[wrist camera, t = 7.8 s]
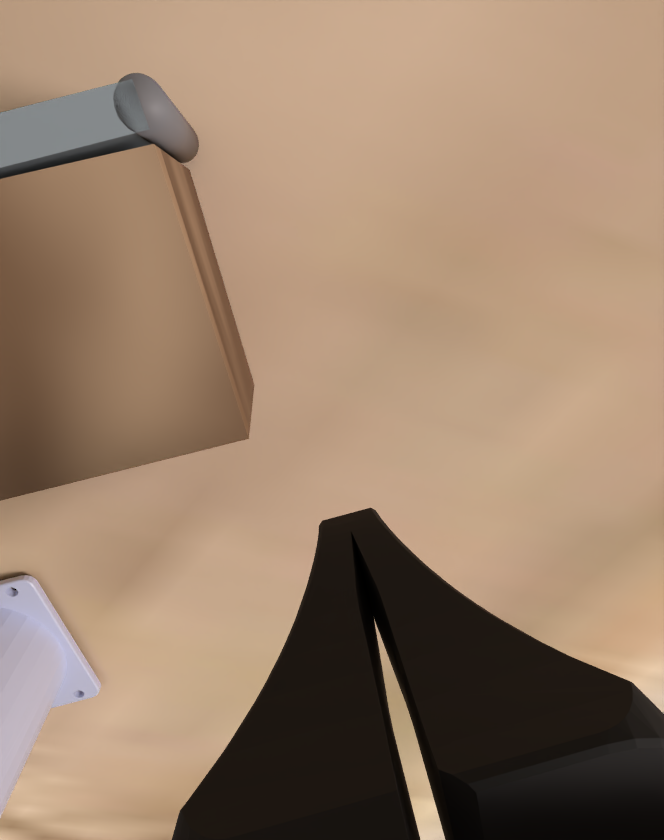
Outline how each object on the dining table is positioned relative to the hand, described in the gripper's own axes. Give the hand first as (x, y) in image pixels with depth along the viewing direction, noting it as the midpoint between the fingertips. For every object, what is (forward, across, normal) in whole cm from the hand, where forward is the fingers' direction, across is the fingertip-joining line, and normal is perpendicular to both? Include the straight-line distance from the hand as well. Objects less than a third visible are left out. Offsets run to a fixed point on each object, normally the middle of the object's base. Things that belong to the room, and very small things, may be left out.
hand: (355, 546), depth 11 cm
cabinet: (+9, +8, -6) cm, 14 cm away
